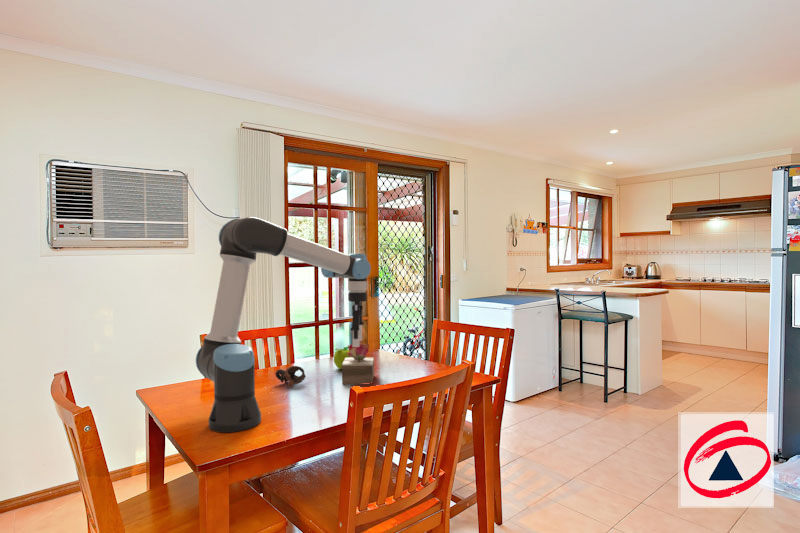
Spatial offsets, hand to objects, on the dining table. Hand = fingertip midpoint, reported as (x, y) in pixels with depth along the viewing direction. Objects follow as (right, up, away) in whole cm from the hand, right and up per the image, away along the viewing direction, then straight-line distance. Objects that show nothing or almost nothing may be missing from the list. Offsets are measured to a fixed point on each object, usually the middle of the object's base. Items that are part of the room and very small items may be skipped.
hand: (357, 343), depth 185 cm
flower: (0, -7, 0) cm, 7 cm away
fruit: (-8, -15, +19) cm, 25 cm away
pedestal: (0, -15, +1) cm, 15 cm away
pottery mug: (-26, -16, -4) cm, 31 cm away
